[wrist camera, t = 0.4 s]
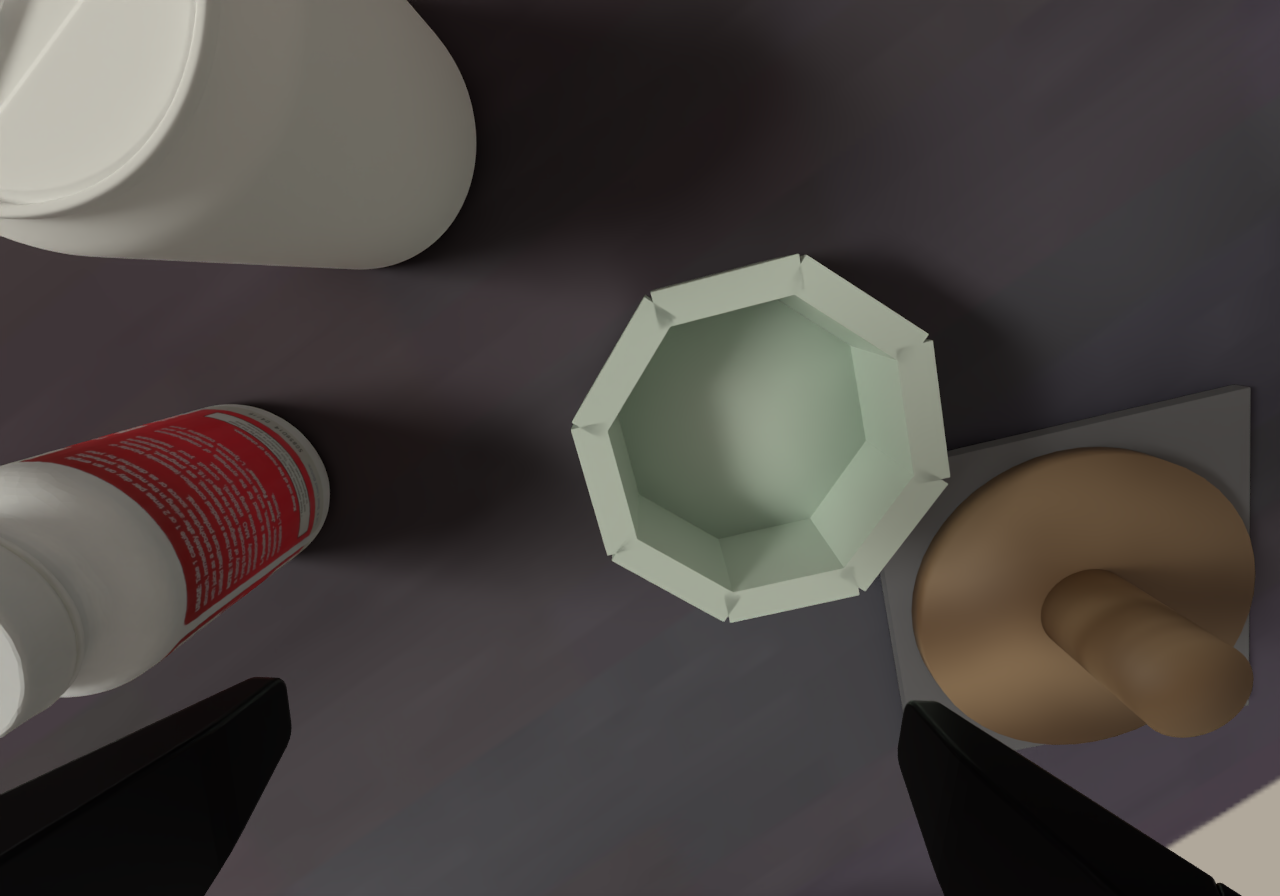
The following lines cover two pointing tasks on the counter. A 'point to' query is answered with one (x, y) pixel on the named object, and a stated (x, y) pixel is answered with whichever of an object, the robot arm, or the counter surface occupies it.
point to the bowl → (762, 438)
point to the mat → (1170, 430)
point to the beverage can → (230, 130)
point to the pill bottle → (142, 545)
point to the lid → (1089, 600)
